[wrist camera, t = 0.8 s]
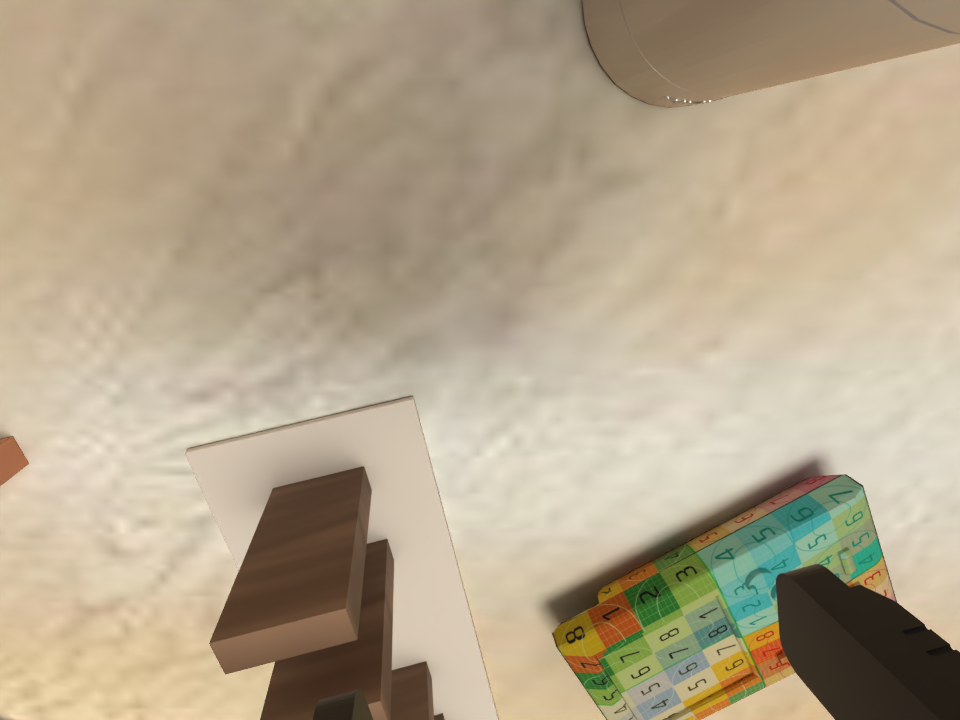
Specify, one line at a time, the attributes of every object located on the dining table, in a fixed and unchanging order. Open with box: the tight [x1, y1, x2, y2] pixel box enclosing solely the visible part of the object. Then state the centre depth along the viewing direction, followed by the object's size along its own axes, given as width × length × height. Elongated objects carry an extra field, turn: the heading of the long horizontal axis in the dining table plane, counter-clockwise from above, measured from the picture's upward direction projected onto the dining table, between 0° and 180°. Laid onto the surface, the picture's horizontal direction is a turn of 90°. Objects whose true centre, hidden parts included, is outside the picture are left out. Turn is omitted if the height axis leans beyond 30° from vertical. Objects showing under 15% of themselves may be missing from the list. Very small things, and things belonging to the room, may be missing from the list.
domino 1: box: [209, 466, 372, 674], centre depth 24 cm, size 2×5×10 cm, turn 101°
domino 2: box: [260, 539, 394, 720], centre depth 26 cm, size 2×5×10 cm, turn 101°
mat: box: [185, 396, 499, 720], centre depth 32 cm, size 26×12×1 cm, turn 11°
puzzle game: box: [552, 475, 897, 720], centre depth 34 cm, size 12×5×20 cm
